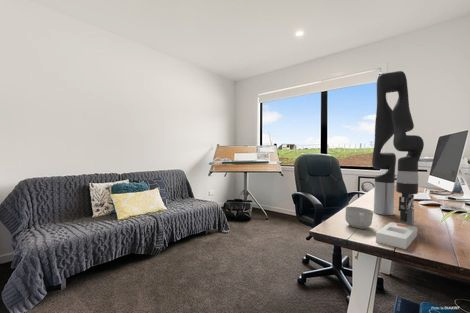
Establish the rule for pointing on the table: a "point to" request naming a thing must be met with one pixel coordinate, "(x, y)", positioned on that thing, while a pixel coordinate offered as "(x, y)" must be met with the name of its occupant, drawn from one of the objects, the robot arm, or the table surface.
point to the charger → (409, 217)
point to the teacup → (359, 217)
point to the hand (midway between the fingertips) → (406, 219)
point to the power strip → (396, 235)
